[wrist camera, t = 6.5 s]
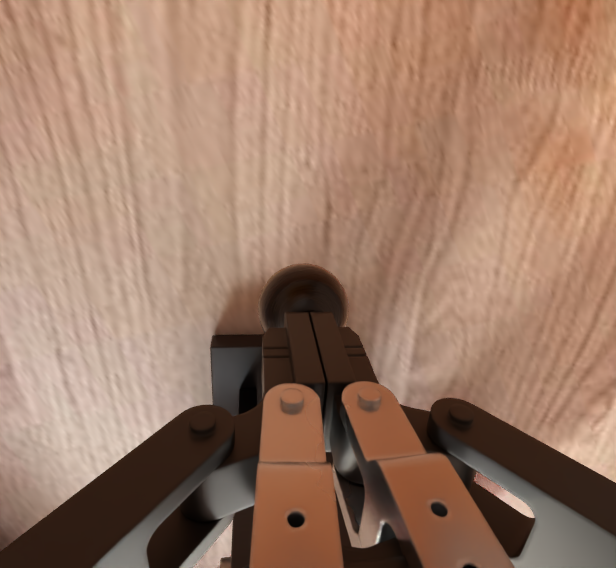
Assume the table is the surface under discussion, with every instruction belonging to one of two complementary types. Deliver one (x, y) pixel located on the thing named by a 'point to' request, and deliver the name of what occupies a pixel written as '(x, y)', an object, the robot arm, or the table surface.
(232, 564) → the switch bracket
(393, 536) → the robot arm
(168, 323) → the table surface
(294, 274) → the switch lever
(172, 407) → the table surface
